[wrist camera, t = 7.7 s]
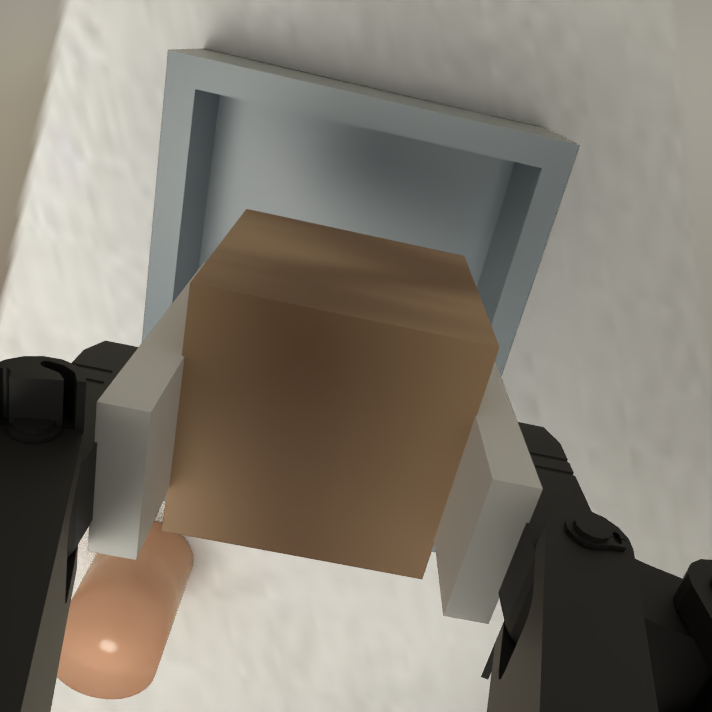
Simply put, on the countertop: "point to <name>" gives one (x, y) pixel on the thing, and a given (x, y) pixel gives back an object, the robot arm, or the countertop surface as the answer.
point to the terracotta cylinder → (124, 617)
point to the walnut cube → (326, 393)
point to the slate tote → (349, 175)
